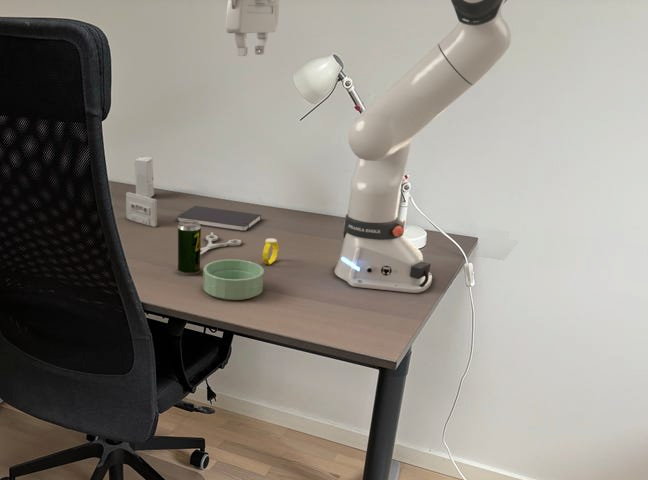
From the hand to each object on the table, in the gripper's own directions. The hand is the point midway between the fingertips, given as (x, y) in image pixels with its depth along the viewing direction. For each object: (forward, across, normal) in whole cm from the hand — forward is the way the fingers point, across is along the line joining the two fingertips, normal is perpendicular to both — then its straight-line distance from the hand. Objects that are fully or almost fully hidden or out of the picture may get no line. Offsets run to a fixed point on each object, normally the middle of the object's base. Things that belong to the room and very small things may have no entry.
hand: (251, 55), depth 167 cm
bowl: (+48, -22, -7) cm, 53 cm away
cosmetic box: (+45, +37, +52) cm, 78 cm away
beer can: (+48, -16, +7) cm, 51 cm away
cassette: (+46, +12, +38) cm, 61 cm away
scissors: (+47, +2, +11) cm, 48 cm away
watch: (+48, 0, -7) cm, 48 cm away
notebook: (+46, +25, +20) cm, 56 cm away
